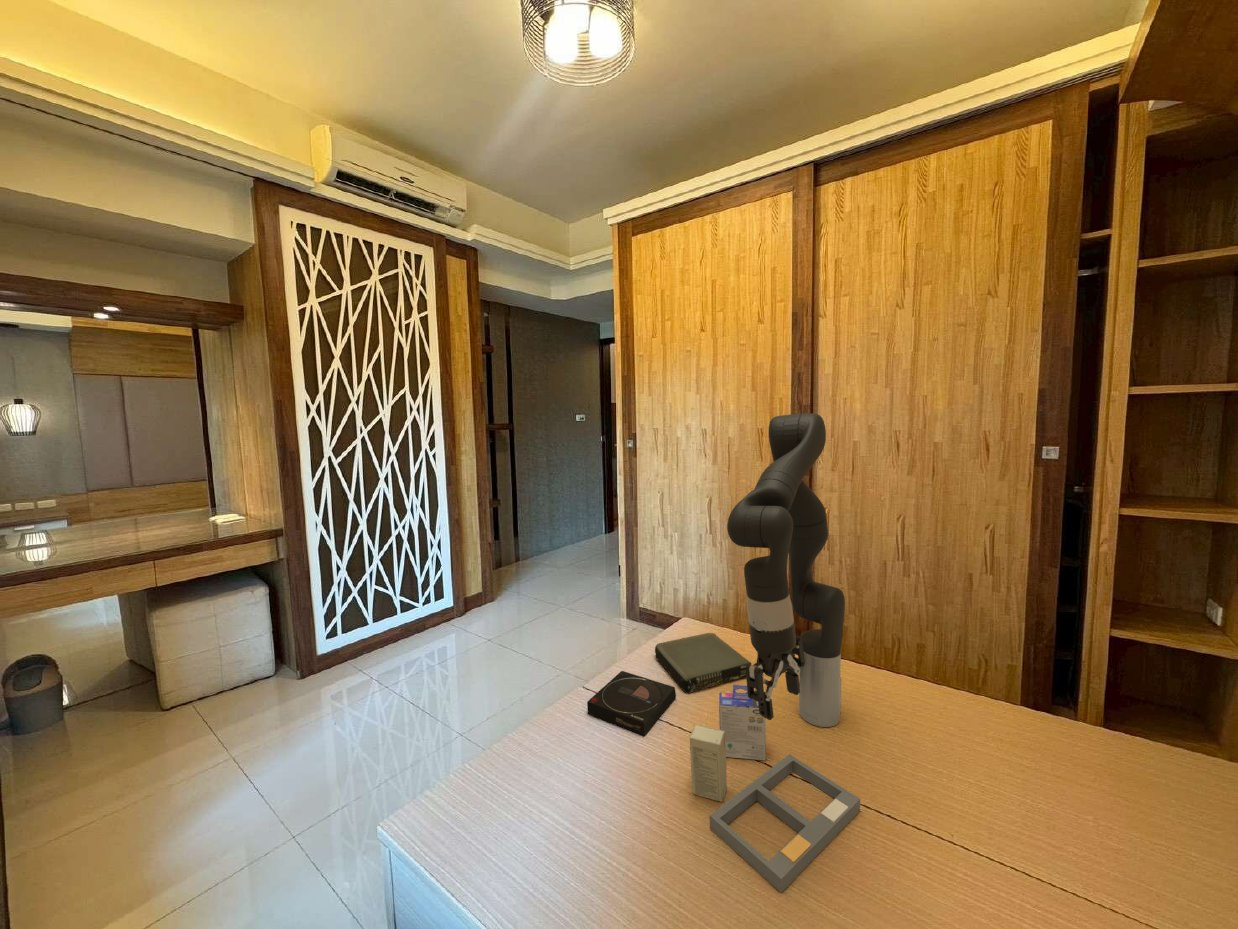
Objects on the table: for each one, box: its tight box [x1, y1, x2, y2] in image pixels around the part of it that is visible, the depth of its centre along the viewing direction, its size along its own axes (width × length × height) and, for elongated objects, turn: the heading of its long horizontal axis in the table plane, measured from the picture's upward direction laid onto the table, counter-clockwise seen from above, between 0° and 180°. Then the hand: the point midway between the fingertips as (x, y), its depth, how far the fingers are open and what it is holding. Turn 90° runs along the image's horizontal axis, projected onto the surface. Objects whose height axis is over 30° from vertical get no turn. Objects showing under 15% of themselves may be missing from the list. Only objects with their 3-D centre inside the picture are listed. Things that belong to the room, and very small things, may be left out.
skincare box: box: [689, 724, 728, 803], centre depth 94 cm, size 6×4×12 cm
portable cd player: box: [586, 670, 677, 738], centre depth 123 cm, size 16×17×4 cm
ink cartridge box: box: [718, 684, 767, 761], centre depth 105 cm, size 10×6×14 cm, turn 80°
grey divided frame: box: [709, 753, 861, 894], centre depth 88 cm, size 24×15×3 cm, turn 126°
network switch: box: [654, 632, 752, 694], centre depth 140 cm, size 23×24×5 cm
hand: (780, 704), depth 84 cm, fingers open, 8 cm apart
